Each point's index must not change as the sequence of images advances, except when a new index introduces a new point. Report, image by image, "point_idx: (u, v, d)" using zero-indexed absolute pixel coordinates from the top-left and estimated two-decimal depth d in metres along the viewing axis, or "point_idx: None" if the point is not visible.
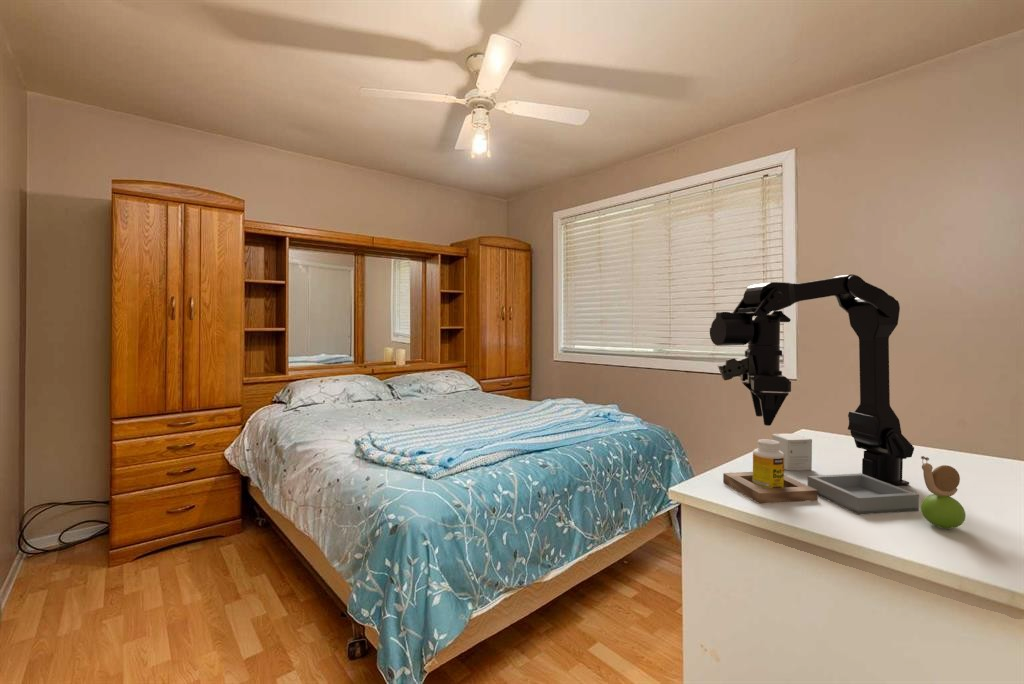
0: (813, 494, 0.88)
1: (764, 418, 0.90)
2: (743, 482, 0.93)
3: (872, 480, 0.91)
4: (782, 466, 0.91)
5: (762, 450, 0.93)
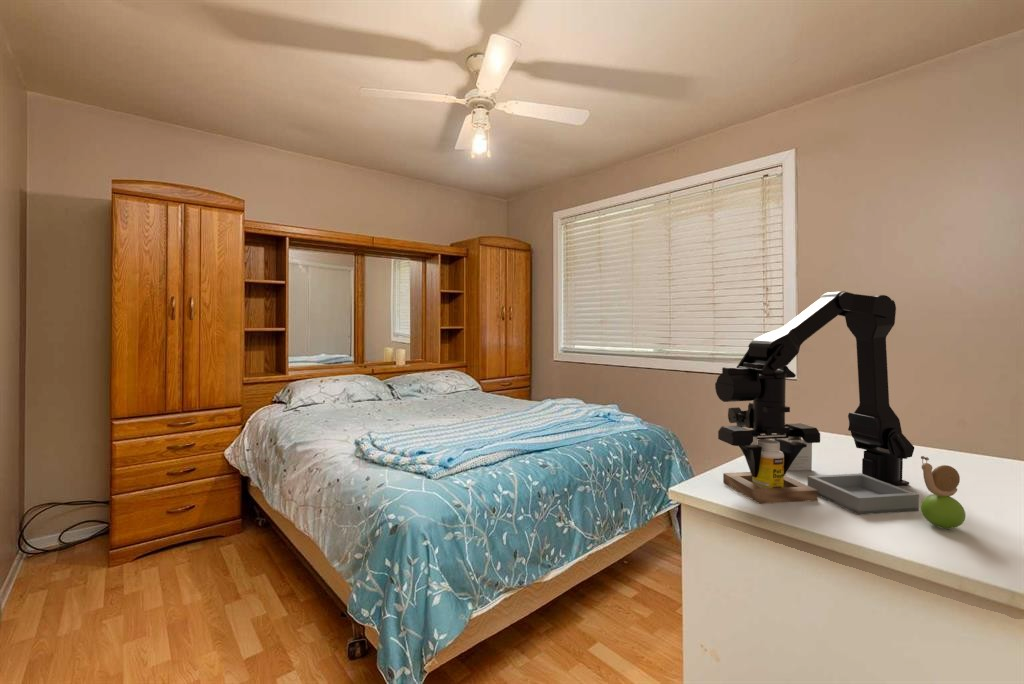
0: (813, 494, 0.88)
1: None
2: (743, 482, 0.93)
3: (872, 480, 0.91)
4: (782, 466, 0.91)
5: (762, 450, 0.93)
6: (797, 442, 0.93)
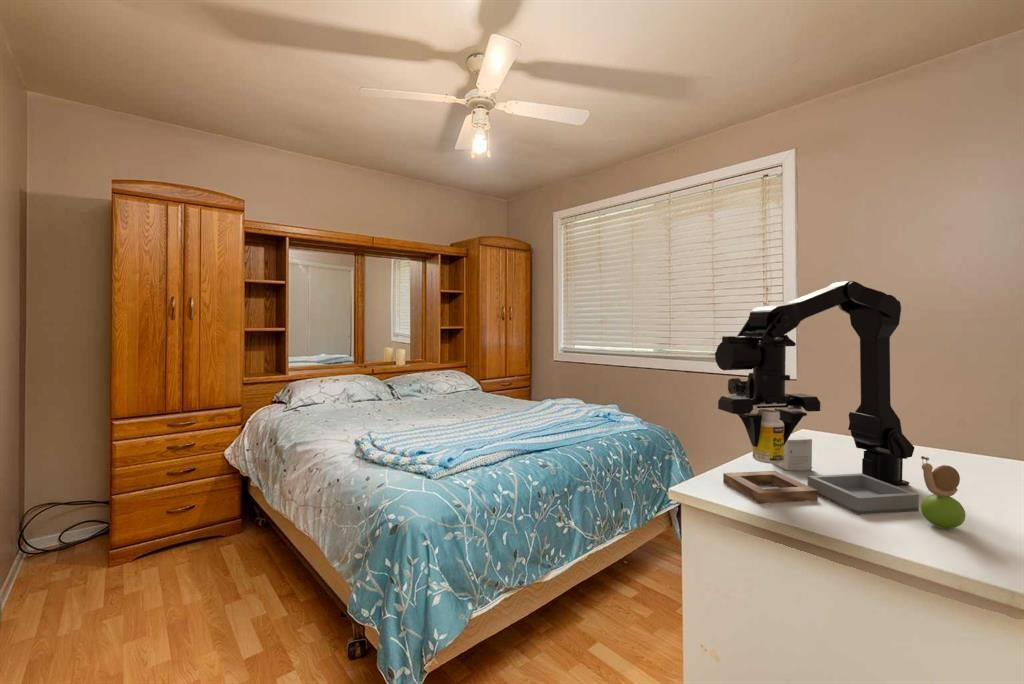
0: (813, 494, 0.88)
1: (750, 438, 0.94)
2: (743, 482, 0.93)
3: (872, 480, 0.91)
4: (782, 435, 0.91)
5: (762, 419, 0.92)
6: (797, 411, 0.92)
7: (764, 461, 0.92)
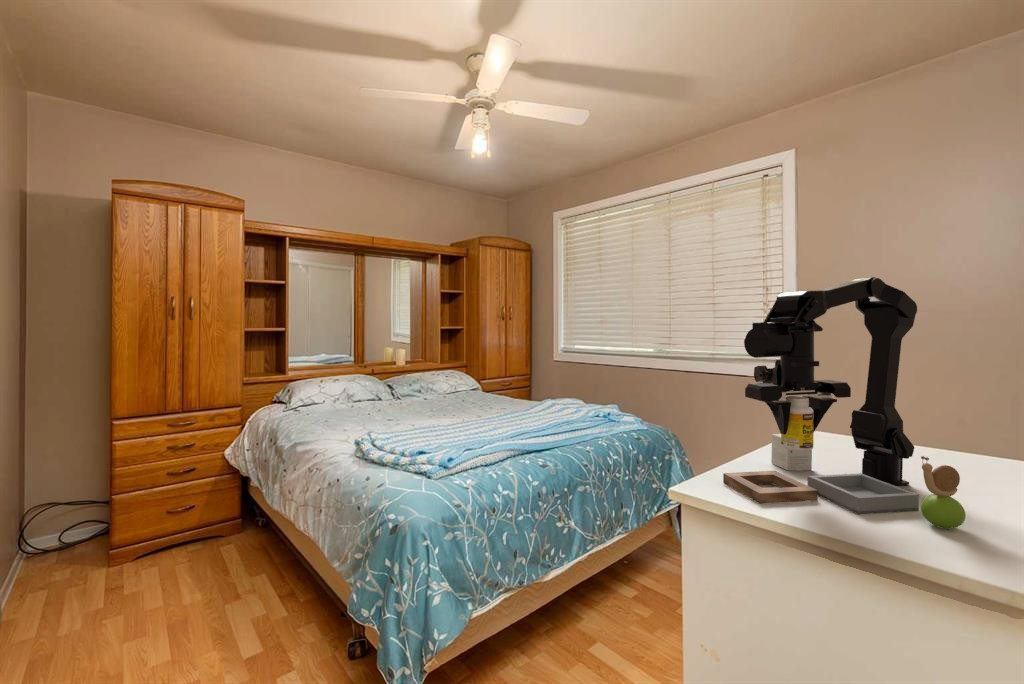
0: (813, 494, 0.88)
1: (778, 426, 0.92)
2: (743, 482, 0.93)
3: (872, 480, 0.91)
4: (812, 422, 0.90)
5: None
6: (827, 397, 0.91)
7: (793, 449, 0.90)
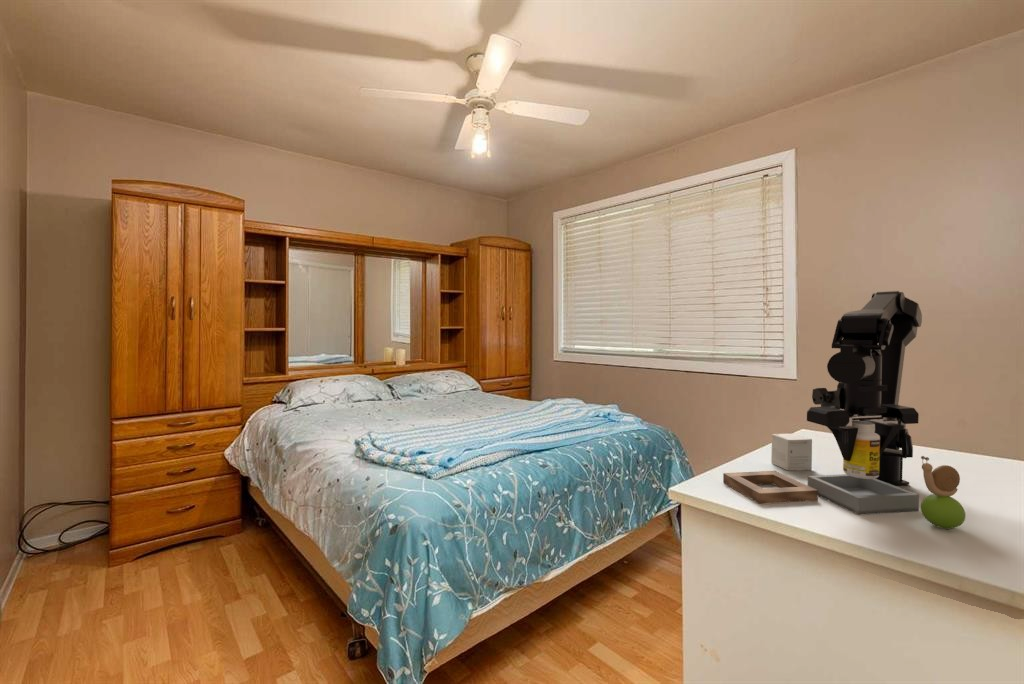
0: (813, 494, 0.88)
1: (841, 452, 0.89)
2: (743, 482, 0.93)
3: (872, 480, 0.91)
4: (878, 448, 0.86)
5: None
6: (893, 423, 0.87)
7: (859, 476, 0.86)
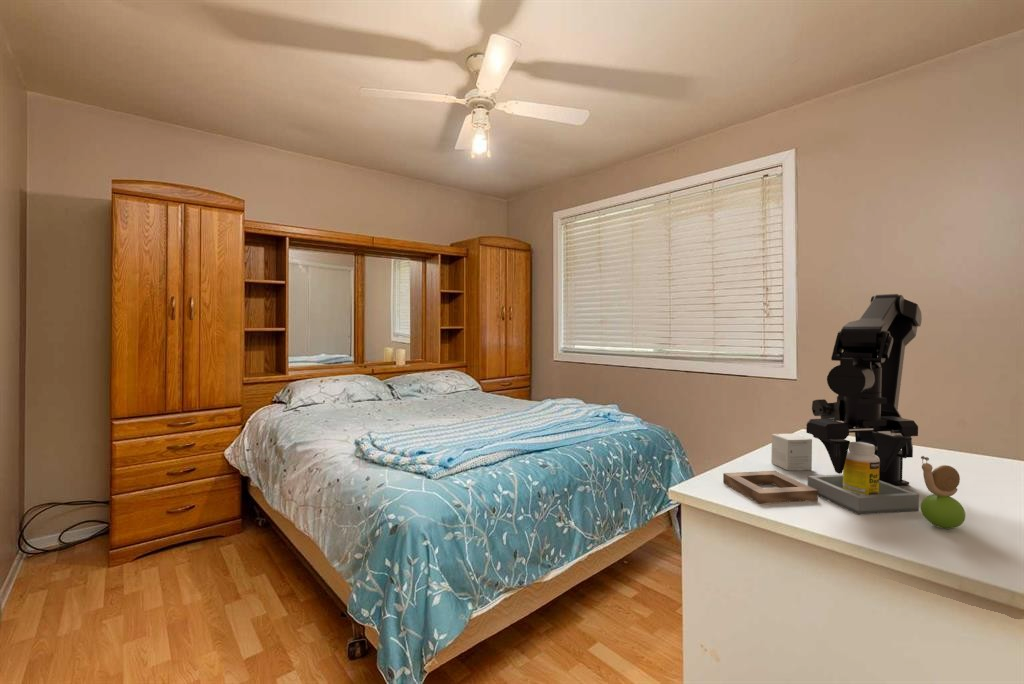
0: (813, 494, 0.88)
1: (833, 464, 0.88)
2: (743, 482, 0.93)
3: None
4: (878, 470, 0.86)
5: (856, 453, 0.87)
6: (900, 435, 0.87)
7: None
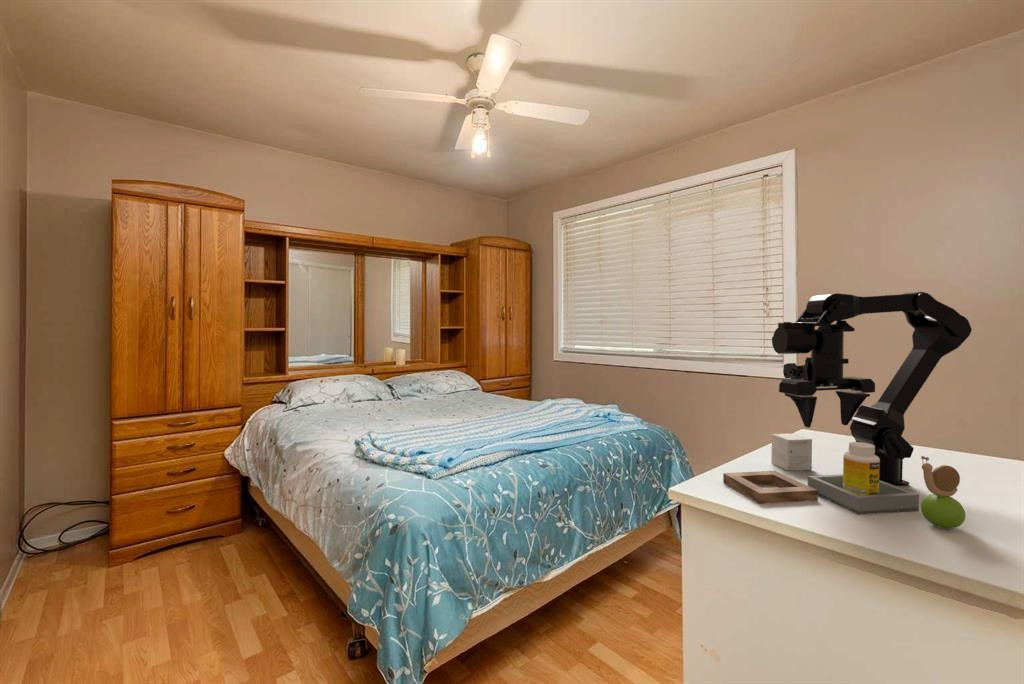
0: (813, 494, 0.88)
1: (802, 420, 0.98)
2: (743, 482, 0.93)
3: None
4: (878, 471, 0.86)
5: (856, 454, 0.87)
6: (860, 392, 0.98)
7: None
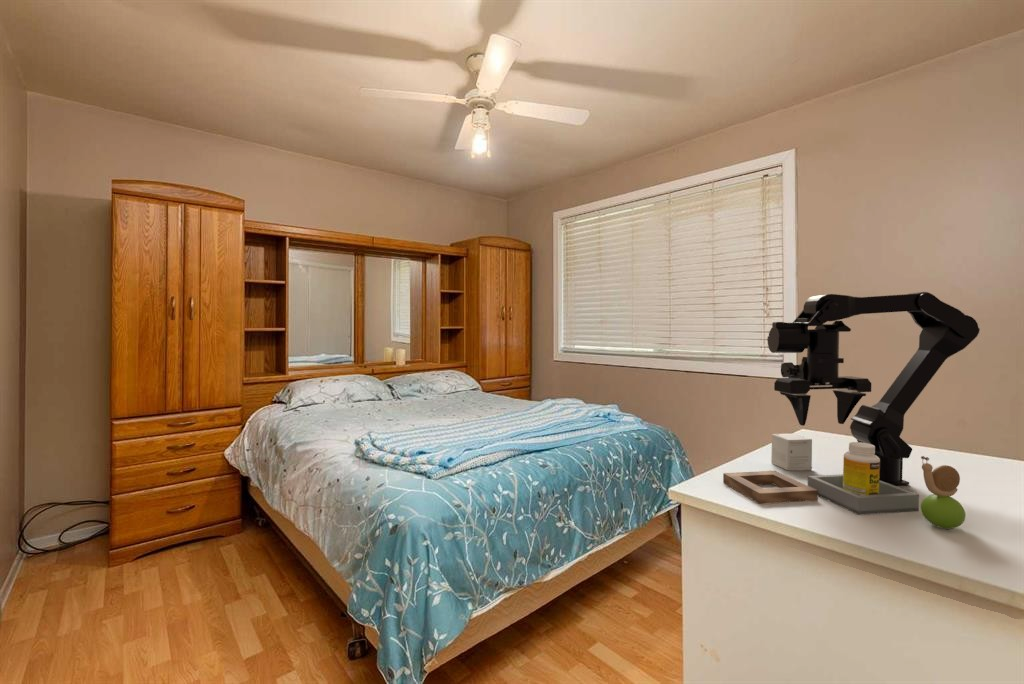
0: (813, 494, 0.88)
1: (797, 418, 1.00)
2: (743, 482, 0.93)
3: None
4: (878, 471, 0.86)
5: (856, 454, 0.87)
6: (856, 392, 0.99)
7: None
